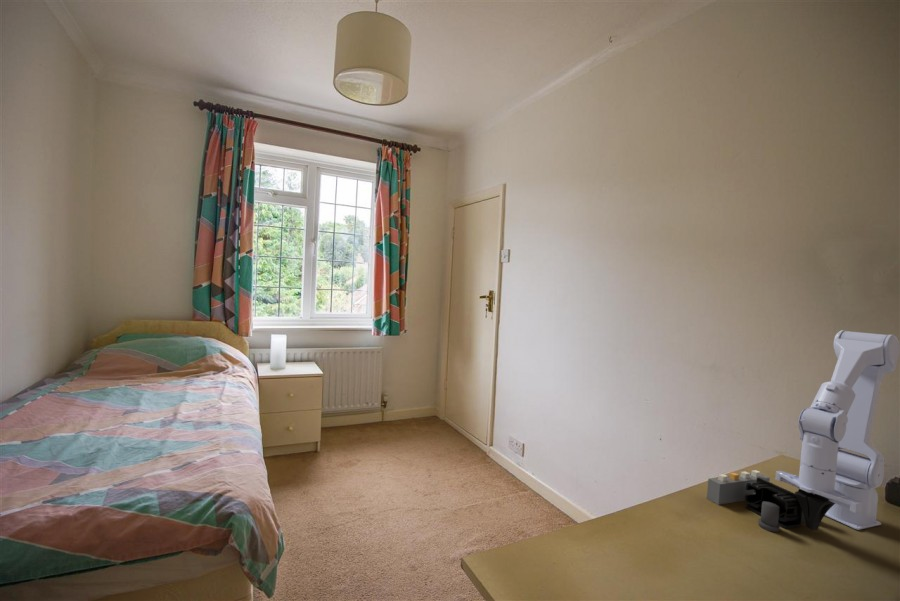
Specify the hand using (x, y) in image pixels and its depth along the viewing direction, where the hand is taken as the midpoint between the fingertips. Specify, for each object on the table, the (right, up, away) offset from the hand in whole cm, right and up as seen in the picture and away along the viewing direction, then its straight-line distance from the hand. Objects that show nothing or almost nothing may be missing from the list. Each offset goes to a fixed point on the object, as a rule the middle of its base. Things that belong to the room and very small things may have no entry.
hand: (811, 527), depth 87 cm
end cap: (-3, -1, +7) cm, 7 cm away
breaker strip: (-5, -1, +15) cm, 16 cm away
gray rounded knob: (-8, -1, +2) cm, 8 cm away
